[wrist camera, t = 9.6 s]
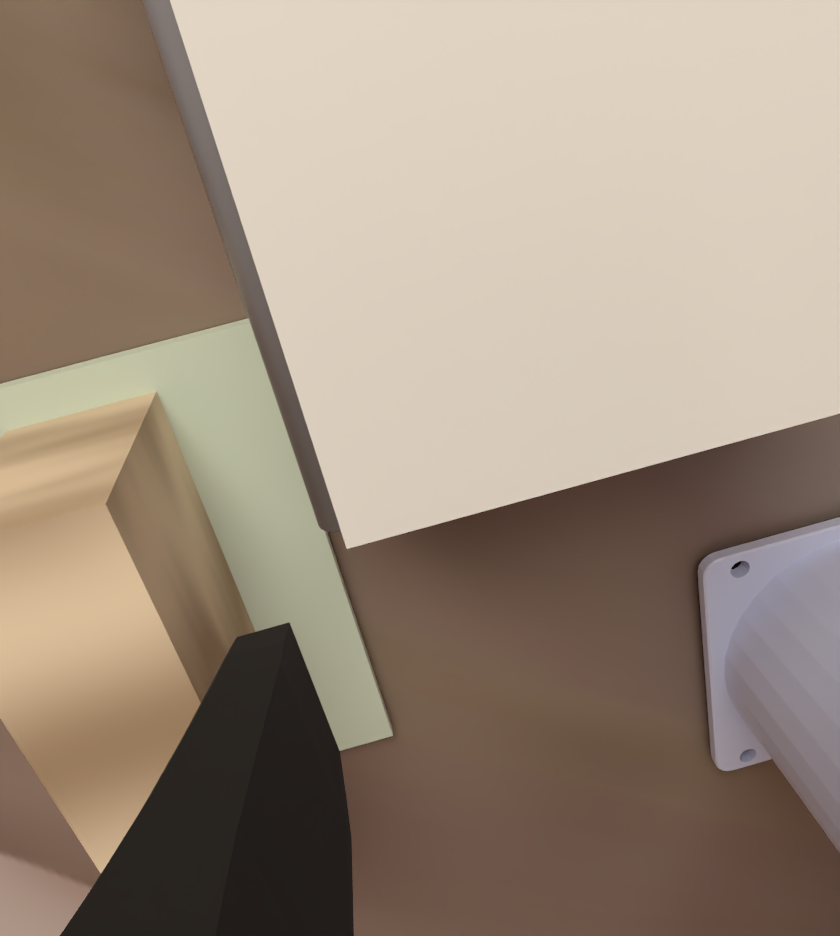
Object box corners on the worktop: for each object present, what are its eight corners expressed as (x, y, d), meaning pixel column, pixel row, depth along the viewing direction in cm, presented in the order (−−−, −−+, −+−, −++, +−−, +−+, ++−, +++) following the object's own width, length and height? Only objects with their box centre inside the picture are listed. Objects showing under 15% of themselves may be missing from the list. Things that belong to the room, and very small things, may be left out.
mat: (255, 316, 16) (254, 321, 16) (391, 725, 22) (393, 735, 21) (-122, 415, 16) (-131, 423, 16) (111, 803, 22) (108, 816, 21)
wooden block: (296, 731, 21) (297, 904, 16) (179, 763, 21) (149, 947, 16) (156, 391, 16) (106, 504, 12) (6, 430, 16) (-103, 559, 12)
